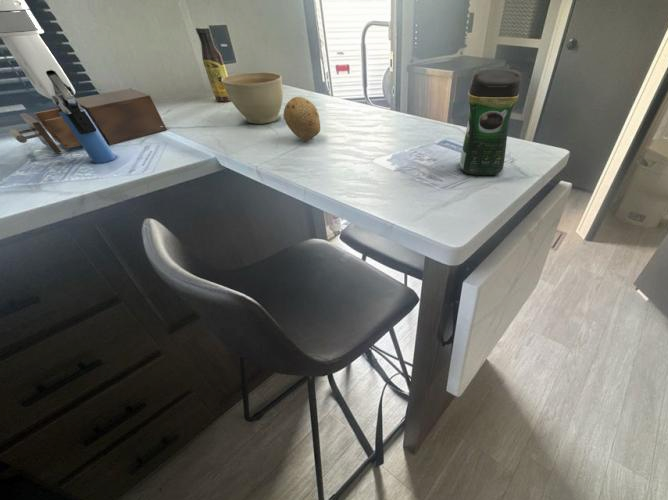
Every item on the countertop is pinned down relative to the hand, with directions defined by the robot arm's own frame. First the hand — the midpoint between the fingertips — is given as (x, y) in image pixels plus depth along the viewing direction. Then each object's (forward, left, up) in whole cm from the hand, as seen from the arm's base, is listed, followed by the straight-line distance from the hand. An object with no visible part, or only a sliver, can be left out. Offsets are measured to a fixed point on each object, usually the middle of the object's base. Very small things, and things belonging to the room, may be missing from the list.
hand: (84, 129), depth 71 cm
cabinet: (+12, +16, -7) cm, 21 cm away
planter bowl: (+42, -5, -7) cm, 43 cm away
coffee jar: (+51, -75, -7) cm, 91 cm away
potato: (+39, -29, -7) cm, 49 cm away
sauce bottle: (+47, +25, -7) cm, 54 cm away
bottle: (0, 0, -7) cm, 7 cm away
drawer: (-2, +16, -6) cm, 17 cm away
